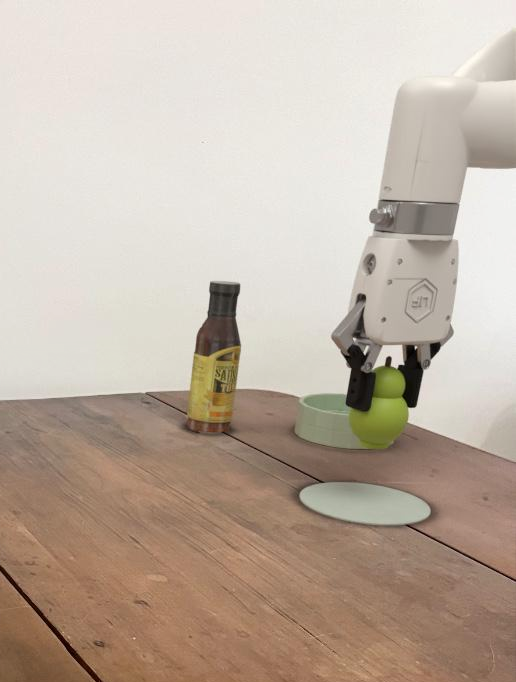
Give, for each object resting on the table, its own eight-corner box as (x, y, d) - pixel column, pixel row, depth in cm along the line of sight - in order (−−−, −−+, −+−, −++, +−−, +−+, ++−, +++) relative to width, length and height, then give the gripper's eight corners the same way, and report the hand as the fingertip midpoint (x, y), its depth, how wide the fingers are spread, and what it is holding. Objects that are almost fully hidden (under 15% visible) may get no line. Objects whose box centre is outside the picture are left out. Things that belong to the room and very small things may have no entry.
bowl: (372, 428, 133) (378, 394, 131) (408, 454, 121) (415, 417, 119) (282, 427, 132) (287, 392, 130) (310, 453, 120) (316, 415, 118)
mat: (399, 485, 109) (400, 482, 109) (452, 527, 96) (453, 524, 96) (284, 484, 108) (284, 481, 107) (321, 526, 95) (322, 523, 95)
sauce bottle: (214, 439, 125) (230, 285, 116) (176, 429, 129) (189, 280, 120) (240, 431, 129) (257, 282, 121) (203, 422, 133) (217, 278, 125)
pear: (389, 438, 102) (405, 351, 98) (411, 453, 96) (429, 362, 92) (337, 437, 101) (351, 350, 97) (355, 453, 96) (371, 361, 92)
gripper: (371, 223, 83) (338, 420, 91) (509, 226, 90) (468, 410, 97) (319, 218, 89) (292, 403, 97) (452, 221, 96) (417, 394, 104)
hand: (380, 405), depth 97 cm, fingers closed on pear, 5 cm apart
